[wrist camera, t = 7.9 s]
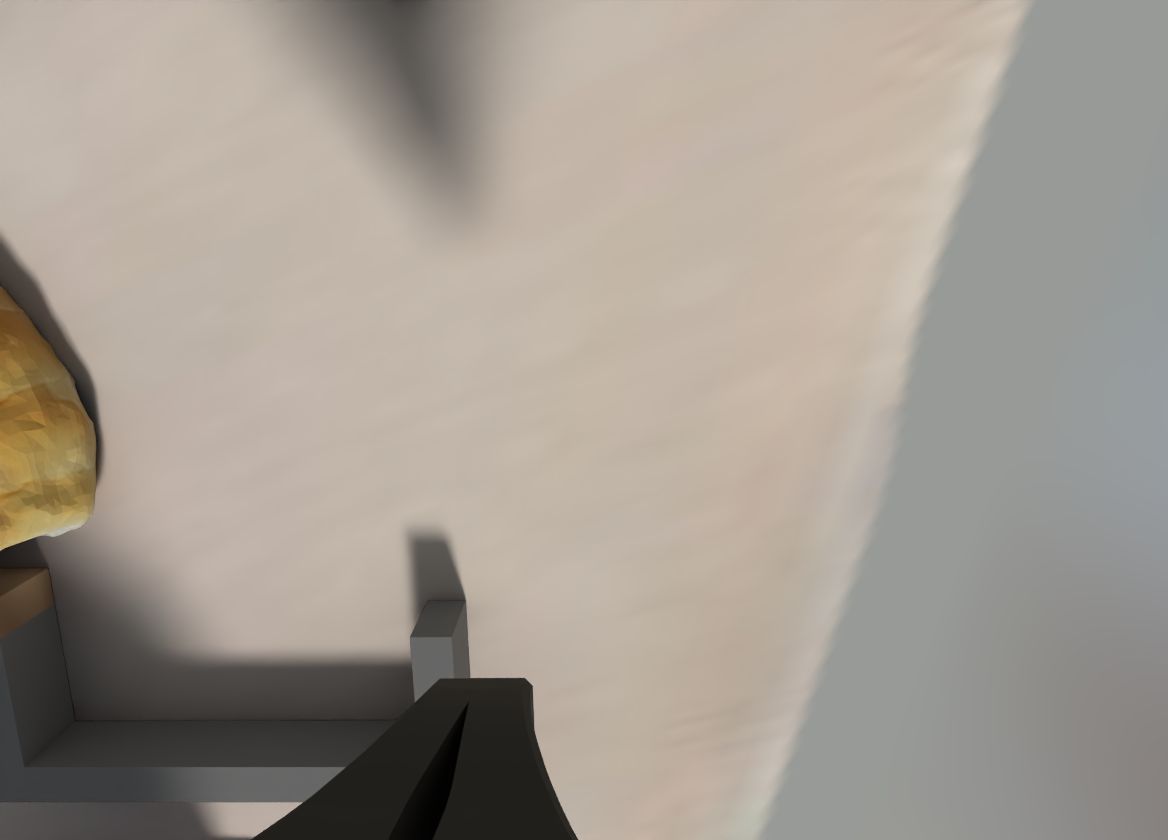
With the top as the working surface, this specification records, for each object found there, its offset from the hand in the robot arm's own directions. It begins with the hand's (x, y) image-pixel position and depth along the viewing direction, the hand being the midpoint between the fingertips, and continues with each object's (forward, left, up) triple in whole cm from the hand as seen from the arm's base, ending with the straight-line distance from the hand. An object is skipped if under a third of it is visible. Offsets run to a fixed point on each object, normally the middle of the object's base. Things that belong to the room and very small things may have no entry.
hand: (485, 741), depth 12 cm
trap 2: (-4, +8, -9) cm, 13 cm away
